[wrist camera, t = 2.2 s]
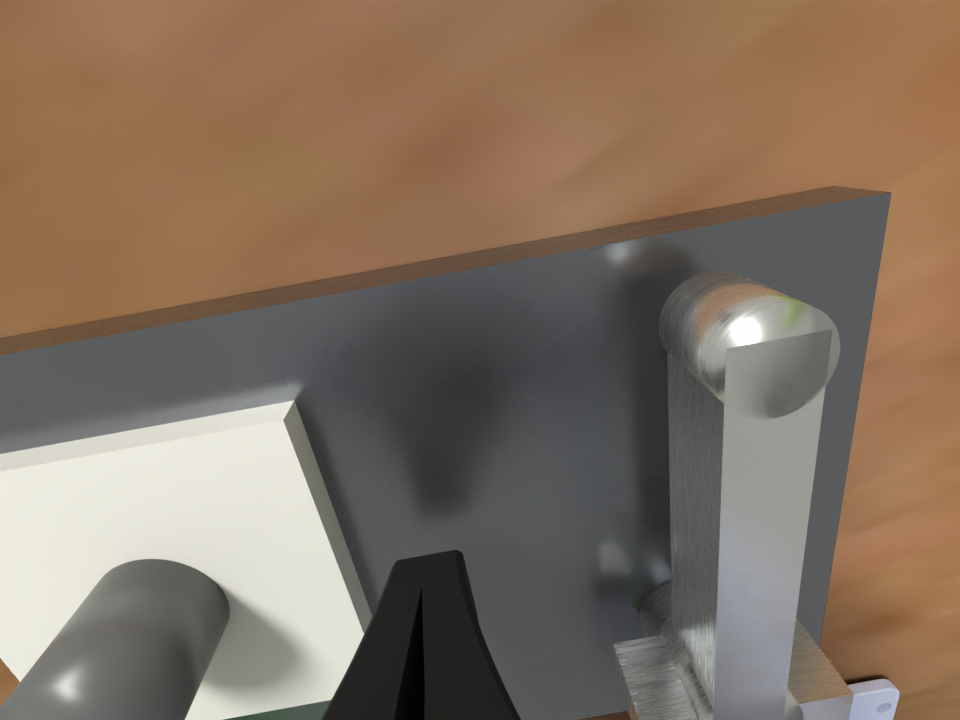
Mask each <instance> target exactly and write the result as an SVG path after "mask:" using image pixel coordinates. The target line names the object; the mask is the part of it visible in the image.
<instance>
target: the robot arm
mask: <svg viewBox="0 0 960 720" xmlns="http://www.w3.org/2000/svg"><path fill="white" fill-rule="evenodd" d="M848 687H849V688H850V689H851V691H852V692H853V693H854V697H853V701H852V706H851V711H850V716H849V720H893V718H894V714H895V710H896V707H897V703H898V699H899V691H898V689H897V688H896V687H895V686H894V685H893V683H892V682H891V681H890V680H887V679H876V680H871V681H865V682H860V683H854V684H849V685H848ZM321 720H521V719H520V717H519V715H518V713H517V711H516V709H515V707H514V705H513V702H512V700H511V698H510V696H509V694H508V692H507V690H506V688H505V686H504V683H503V681H502V679H501V677H500V675H499V672H498V670H497V668H496V666H495V663H494V661H493V659H492V656H491V654H490V652H489V649H488V647H487V644H486V641H485V639H484V636H483V634H482V631H481V628H480V626H479V621H478V614H477V610H476V606H475V602H474V598H473V594H472V590H471V585H470V581H469V577H468V573H467V569H466V565H465V560H464V556H463V553H462V552H460V551H458V550H451V551H445V552H440V553H434V554H429V555H423V556H418V557H412V558H407V559H401V560H397V561H396V562H395V563H394V565H393V566H392V569H391V572H390V574H389V577H388V580H387V582H386V585H385V587H384V590H383V592H382V595H381V597H380V600H379V602H378V604H377V607H376V609H375V611H374V614H373V616H372V618H371V620H370V623H369V625H368V627H367V629H366V631H365V633H364V636H363V638H362V640H361V642H360V644H359V646H358V648H357V650H356V653H355V655H354V657H353V659H352V661H351V663H350V665H349V667H348V669H347V671H346V673H345V675H344V677H343V679H342V681H341V683H340V684H339V686H338V688H337V690H336V692H335V694H334V696H333V698H332V700H331V701H330V703H329V705H328V707H327V709H326V711H325V713H324V715H323V716H322V718H321Z"/></svg>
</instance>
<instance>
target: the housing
mask: <svg viewBox="0 0 960 720" xmlns="http://www.w3.org/2000/svg"><path fill="white" fill-rule="evenodd" d="M890 198H891V192H883V191H873V190H864V189H855V188H846V187H837V186H832V187H827V188H821V189H816V190H810V191H805V192H799V193H794V194H789V195H783V196H778V197H772V198H767V199H761V200H756V201H750V202H745V203H739V204H734V205H728V206H723V207H717V208H712V209H706V210H701V211H695V212H690V213H685V214H679V215H674V216H668V217H663V218H657V219H652V220H646V221H641V222H635V223H630V224H624V225H619V226H613V227H608V228H602V229H597V230H591V231H586V232H581V233H575V234H570V235H564V236H559V237H553V238H548V239H542V240H537V241H531V242H526V243H520V244H515V245H509V246H504V247H498V248H493V249H487V250H482V251H477V252H471V253H466V254H460V255H455V256H449V257H444V258H438V259H433V260H427V261H422V262H416V263H411V264H405V265H400V266H394V267H389V268H383V269H378V270H373V271H367V272H362V273H356V274H351V275H345V276H340V277H334V278H329V279H323V280H318V281H312V282H307V283H301V284H296V285H290V286H285V287H279V288H274V289H269V290H263V291H258V292H252V293H247V294H241V295H236V296H230V297H225V298H219V299H214V300H208V301H203V302H197V303H192V304H186V305H181V306H175V307H170V308H165V309H159V310H154V311H148V312H143V313H137V314H132V315H126V316H121V317H115V318H110V319H104V320H99V321H93V322H88V323H82V324H77V325H71V326H66V327H61V328H55V329H50V330H44V331H39V332H33V333H28V334H22V335H17V336H11V337H6V338H0V454H3V453H9V452H14V451H20V450H25V449H31V448H36V447H42V446H47V445H53V444H58V443H63V442H69V441H74V440H80V439H85V438H91V437H96V436H102V435H107V434H113V433H118V432H124V431H129V430H135V429H140V428H146V427H151V426H157V425H162V424H168V423H173V422H178V421H184V420H189V419H195V418H200V417H206V416H211V415H217V414H222V413H228V412H233V411H239V410H244V409H250V408H255V407H261V406H266V405H272V404H277V403H283V402H288V401H294V400H295V403H296V406H297V409H298V411H299V414H300V417H301V420H302V423H303V425H304V428H305V431H306V434H307V436H308V439H309V442H310V445H311V448H312V450H313V453H314V456H315V459H316V461H317V464H318V467H319V470H320V472H321V475H322V478H323V481H324V484H325V486H326V489H327V492H328V495H329V497H330V500H331V503H332V506H333V509H334V511H335V514H336V517H337V520H338V522H339V525H340V528H341V531H342V534H343V536H344V539H345V542H346V545H347V547H348V550H349V553H350V556H351V558H352V561H353V564H354V567H355V570H356V572H357V575H358V578H359V581H360V583H361V586H362V589H363V592H364V595H365V597H366V600H367V603H368V606H369V608H370V611H371V614H372V616H373V614H374V611H375V609H376V607H377V604H378V602H379V600H380V597H381V595H382V592H383V590H384V587H385V585H386V582H387V580H388V577H389V574H390V572H391V569H392V566H393V565H394V563H395V562H396V561H397V560H401V559H407V558H412V557H418V556H423V555H429V554H434V553H440V552H445V551H451V550H458V551H460V552H462V553H463V556H464V560H465V565H466V569H467V573H468V577H469V581H470V585H471V590H472V594H473V598H474V602H475V606H476V610H477V614H478V621H479V626H480V628H481V631H482V634H483V636H484V639H485V641H486V644H487V647H488V649H489V652H490V654H491V656H492V659H493V661H494V663H495V666H496V668H497V670H498V672H499V675H500V677H501V679H502V681H503V683H504V686H505V688H506V690H507V692H508V694H509V696H510V698H511V700H512V702H513V705H514V707H515V709H516V711H517V713H518V715H519V717H520V719H521V720H579V719H585V718H590V717H596V716H601V715H607V714H612V713H618V712H623V711H627V708H626V705H625V702H624V699H623V696H622V693H621V689H620V686H619V683H618V680H617V677H616V670H615V658H614V647H613V644H615V643H620V642H626V641H631V640H637V639H642V638H647V637H646V635H645V632H644V630H643V628H642V625H641V622H640V611H641V608H642V605H643V603H644V602H645V600H646V599H647V597H648V596H649V595H650V594H651V593H652V592H653V591H654V590H656V589H657V588H658V587H660V586H661V585H663V584H665V583H667V582H669V581H671V535H670V473H669V411H668V352H667V351H666V350H665V348H664V346H663V344H662V342H661V339H660V335H659V320H660V315H661V312H662V309H663V307H664V305H665V303H666V301H667V299H668V298H669V296H670V295H671V294H672V293H673V291H674V290H675V289H676V288H677V287H678V286H679V285H681V284H682V283H683V282H684V281H686V280H687V279H689V278H690V277H692V276H694V275H696V274H699V273H702V272H705V271H709V270H728V271H732V272H735V273H737V274H740V275H742V276H744V277H746V278H749V279H751V280H753V281H755V282H758V283H760V284H762V285H765V286H767V287H769V288H771V289H774V290H776V291H778V292H781V293H783V294H785V295H787V296H790V297H792V298H794V299H797V300H799V301H801V302H803V303H806V304H808V305H810V306H813V307H815V308H817V309H819V310H821V311H822V312H824V313H825V314H826V315H827V316H828V317H829V318H830V319H831V320H832V321H833V323H834V324H835V326H836V328H837V331H838V334H839V338H840V355H839V360H838V363H837V366H836V369H835V371H834V373H833V375H832V377H831V379H830V380H829V382H828V383H827V385H826V386H825V394H824V402H823V410H822V417H821V425H820V433H819V441H818V449H817V457H816V465H815V473H814V480H813V488H812V496H811V504H810V512H809V520H808V528H807V536H806V543H805V551H804V559H803V567H802V575H801V583H800V591H799V599H798V606H797V614H796V617H797V619H798V620H799V621H800V623H801V624H802V625H803V627H804V628H805V629H806V631H807V632H808V633H809V635H810V636H811V637H812V639H813V640H814V641H815V643H816V644H817V645H818V647H819V645H820V638H821V632H822V626H823V620H824V613H825V607H826V601H827V594H828V588H829V582H830V576H831V569H832V563H833V557H834V550H835V544H836V538H837V531H838V525H839V519H840V513H841V506H842V500H843V494H844V487H845V481H846V475H847V469H848V462H849V456H850V450H851V443H852V437H853V431H854V424H855V418H856V412H857V406H858V399H859V393H860V387H861V380H862V374H863V368H864V362H865V355H866V349H867V343H868V336H869V330H870V324H871V317H872V311H873V305H874V299H875V292H876V286H877V280H878V273H879V267H880V261H881V255H882V248H883V242H884V236H885V229H886V223H887V217H888V210H889V204H890ZM330 701H331V700H328V701H322V702H317V703H311V704H306V705H300V706H295V707H289V708H284V709H278V710H273V711H267V712H262V713H256V714H251V715H246V716H240V717H235V718H229V719H224V720H321V718H322V716H323V715H324V713H325V711H326V709H327V707H328V705H329V703H330Z"/></svg>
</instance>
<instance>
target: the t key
mask: <svg viewBox="0 0 960 720" xmlns="http://www.w3.org/2000/svg"><path fill="white" fill-rule="evenodd" d="M659 335H660V339H661V342H662V344H663V346H664V348H665V350H666V351H667V352H668V411H669V473H670V535H671V581H669V582H667V583H665V584H663V585H661V586H660V587H658V588H657V589H656V590H654V591H653V592H652V593H651V594H650V595H649V596H648V597H647V599H646V600H645V602H644V603H643V605H642V608H641V611H640V622H641V625H642V628H643V630H644V632H645V635H646V637H647V638H642V639H637V640H631V641H626V642H620V643H615V644H613V647H614V658H615V670H616V677H617V680H618V683H619V686H620V689H621V693H622V696H623V699H624V702H625V705H626V708H627V711H628V714H629V717H630V720H849V716H850V711H851V706H852V701H853V697H854V693H853V692H852V691H851V689H850V688H849V687H848V685H847V684H846V683H845V681H844V680H843V679H842V677H841V676H840V675H839V673H838V672H837V671H836V669H835V668H834V667H833V665H832V664H831V663H830V661H829V660H828V659H827V657H826V656H825V655H824V653H823V652H822V651H821V649H820V648H819V647H818V645H817V644H816V643H815V641H814V640H813V639H812V637H811V636H810V635H809V633H808V632H807V631H806V629H805V628H804V627H803V625H802V624H801V623H800V621H799V620H798V619H797V617H796V614H797V606H798V599H799V591H800V583H801V575H802V567H803V559H804V551H805V543H806V536H807V528H808V520H809V512H810V504H811V496H812V488H813V480H814V473H815V465H816V457H817V449H818V441H819V433H820V425H821V417H822V410H823V402H824V394H825V386H826V385H827V383H828V382H829V380H830V379H831V377H832V375H833V373H834V371H835V369H836V366H837V363H838V360H839V355H840V338H839V334H838V331H837V328H836V326H835V324H834V323H833V321H832V320H831V319H830V318H829V317H828V316H827V315H826V314H825V313H824V312H822V311H821V310H819V309H817V308H815V307H813V306H810V305H808V304H806V303H803V302H801V301H799V300H797V299H794V298H792V297H790V296H787V295H785V294H783V293H781V292H778V291H776V290H774V289H771V288H769V287H767V286H765V285H762V284H760V283H758V282H755V281H753V280H751V279H749V278H746V277H744V276H742V275H740V274H737V273H735V272H732V271H728V270H709V271H705V272H702V273H699V274H696V275H694V276H692V277H690V278H689V279H687V280H686V281H684V282H683V283H682V284H681V285H679V286H678V287H677V288H676V289H675V290H674V291H673V293H672V294H671V295H670V296H669V298H668V299H667V301H666V303H665V305H664V307H663V309H662V312H661V315H660V320H659Z"/></svg>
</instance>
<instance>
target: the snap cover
mask: <svg viewBox="0 0 960 720" xmlns="http://www.w3.org/2000/svg"><path fill="white" fill-rule="evenodd" d="M371 618H372V614H371V611H370V608H369V606H368V603H367V600H366V597H365V595H364V592H363V589H362V586H361V583H360V581H359V578H358V575H357V572H356V570H355V567H354V564H353V561H352V558H351V556H350V553H349V550H348V547H347V545H346V542H345V539H344V536H343V534H342V531H341V528H340V525H339V522H338V520H337V517H336V514H335V511H334V509H333V506H332V503H331V500H330V497H329V495H328V492H327V489H326V486H325V484H324V481H323V478H322V475H321V472H320V470H319V467H318V464H317V461H316V459H315V456H314V453H313V450H312V448H311V445H310V442H309V439H308V436H307V434H306V431H305V428H304V425H303V423H302V420H301V417H300V414H299V411H298V409H297V406H296V403H295V400H294V401H288V402H283V403H277V404H272V405H266V406H261V407H255V408H250V409H244V410H239V411H233V412H228V413H222V414H217V415H211V416H206V417H200V418H195V419H189V420H184V421H178V422H173V423H168V424H162V425H157V426H151V427H146V428H140V429H135V430H129V431H124V432H118V433H113V434H107V435H102V436H96V437H91V438H85V439H80V440H74V441H69V442H63V443H58V444H53V445H47V446H42V447H36V448H31V449H25V450H20V451H14V452H9V453H3V454H0V658H1V659H2V660H3V662H4V663H5V664H6V665H7V667H8V668H9V669H10V670H11V671H12V673H13V674H14V675H15V676H16V677H17V679H18V680H19V681H20V683H19V684H18V686H17V687H16V688H15V690H14V691H13V692H12V693H11V695H10V696H9V697H8V699H7V700H6V701H5V702H4V704H3V705H2V706H1V707H0V720H224V719H229V718H235V717H240V716H246V715H251V714H256V713H262V712H267V711H273V710H278V709H284V708H289V707H295V706H300V705H306V704H311V703H317V702H322V701H328V700H332V698H333V696H334V694H335V692H336V690H337V688H338V686H339V684H340V683H341V681H342V679H343V677H344V675H345V673H346V671H347V669H348V667H349V665H350V663H351V661H352V659H353V657H354V655H355V653H356V650H357V648H358V646H359V644H360V642H361V640H362V638H363V636H364V633H365V631H366V629H367V627H368V625H369V623H370V620H371Z"/></svg>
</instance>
